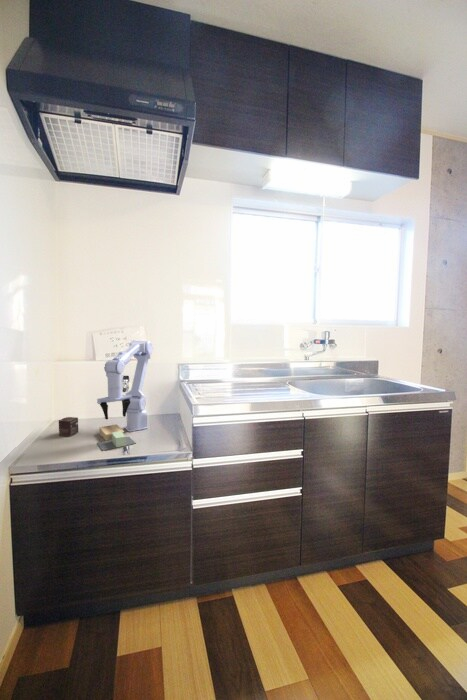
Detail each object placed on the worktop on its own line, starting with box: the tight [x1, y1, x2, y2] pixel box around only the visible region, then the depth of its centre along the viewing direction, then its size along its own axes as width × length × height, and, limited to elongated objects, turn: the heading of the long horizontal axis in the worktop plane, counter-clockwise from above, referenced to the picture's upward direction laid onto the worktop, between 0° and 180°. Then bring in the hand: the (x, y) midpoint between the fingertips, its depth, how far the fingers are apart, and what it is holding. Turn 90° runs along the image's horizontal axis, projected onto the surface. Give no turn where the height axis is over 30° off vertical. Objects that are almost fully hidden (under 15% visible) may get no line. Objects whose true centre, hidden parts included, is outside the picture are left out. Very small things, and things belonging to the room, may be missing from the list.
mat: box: [96, 436, 137, 452], centre depth 145 cm, size 14×10×1 cm
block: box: [112, 431, 127, 448], centre depth 144 cm, size 4×4×8 cm
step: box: [98, 424, 125, 441], centre depth 154 cm, size 8×12×3 cm, turn 35°
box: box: [58, 416, 79, 437], centre depth 155 cm, size 6×6×7 cm
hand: (115, 417), depth 148 cm, fingers open, 7 cm apart
